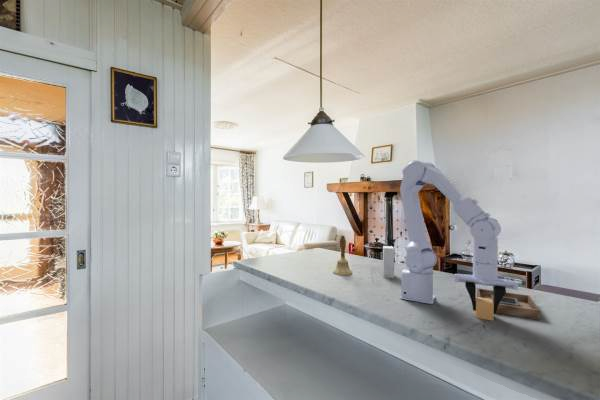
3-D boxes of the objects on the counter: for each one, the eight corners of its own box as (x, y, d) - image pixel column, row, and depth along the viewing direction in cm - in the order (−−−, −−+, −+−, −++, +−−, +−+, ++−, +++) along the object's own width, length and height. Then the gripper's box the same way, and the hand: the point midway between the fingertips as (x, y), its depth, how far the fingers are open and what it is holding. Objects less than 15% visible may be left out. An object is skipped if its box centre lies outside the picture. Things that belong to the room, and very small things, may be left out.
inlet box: (478, 309, 85) (479, 301, 85) (476, 295, 97) (476, 288, 97) (539, 319, 78) (540, 310, 78) (529, 303, 91) (529, 295, 91)
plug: (475, 317, 80) (476, 301, 80) (475, 312, 83) (475, 296, 83) (493, 320, 78) (493, 303, 78) (492, 315, 81) (492, 299, 81)
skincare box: (394, 278, 117) (394, 248, 117) (383, 277, 118) (383, 248, 118) (392, 274, 123) (393, 246, 123) (382, 273, 124) (382, 245, 124)
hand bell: (353, 275, 121) (354, 237, 120) (333, 275, 121) (334, 236, 120) (350, 270, 129) (351, 234, 129) (331, 270, 129) (332, 234, 129)
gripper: (454, 261, 80) (454, 310, 80) (520, 268, 73) (519, 322, 73) (455, 257, 86) (454, 302, 87) (515, 263, 79) (514, 312, 79)
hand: (484, 311), depth 80 cm, fingers closed on plug, 4 cm apart
